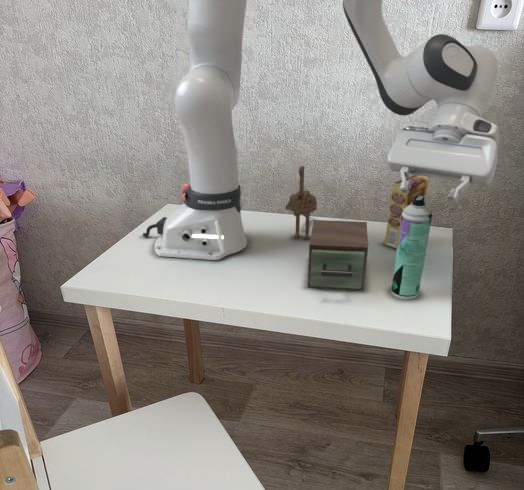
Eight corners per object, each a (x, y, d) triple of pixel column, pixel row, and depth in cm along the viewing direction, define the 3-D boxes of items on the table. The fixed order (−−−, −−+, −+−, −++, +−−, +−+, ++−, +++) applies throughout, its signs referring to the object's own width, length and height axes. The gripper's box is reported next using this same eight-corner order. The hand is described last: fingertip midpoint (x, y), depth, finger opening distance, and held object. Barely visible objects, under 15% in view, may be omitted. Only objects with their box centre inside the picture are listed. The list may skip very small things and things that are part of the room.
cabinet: (363, 290, 110) (368, 247, 105) (307, 287, 111) (309, 244, 106) (362, 262, 121) (366, 221, 116) (311, 259, 123) (313, 219, 117)
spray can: (416, 287, 111) (432, 192, 99) (420, 300, 106) (437, 202, 95) (389, 286, 111) (402, 192, 100) (392, 299, 107) (406, 201, 95)
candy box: (398, 250, 126) (407, 186, 118) (383, 245, 129) (391, 182, 120) (419, 239, 131) (429, 177, 123) (404, 234, 134) (413, 173, 125)
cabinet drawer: (361, 298, 105) (365, 262, 101) (308, 295, 107) (310, 260, 102) (360, 262, 119) (363, 229, 114) (313, 260, 120) (315, 227, 116)
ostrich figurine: (311, 245, 129) (314, 170, 119) (284, 242, 131) (285, 168, 121) (324, 220, 143) (328, 151, 132) (300, 218, 144) (302, 149, 134)
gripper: (398, 115, 104) (373, 178, 103) (507, 126, 95) (480, 196, 94) (403, 134, 110) (379, 194, 109) (506, 147, 101) (481, 213, 100)
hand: (427, 195), depth 101 cm, fingers open, 8 cm apart
